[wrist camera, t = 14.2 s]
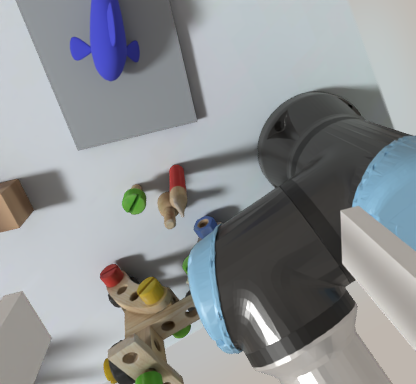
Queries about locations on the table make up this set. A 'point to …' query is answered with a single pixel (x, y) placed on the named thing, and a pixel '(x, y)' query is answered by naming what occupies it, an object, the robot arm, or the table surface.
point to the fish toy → (106, 40)
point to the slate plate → (125, 84)
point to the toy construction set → (151, 300)
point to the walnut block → (13, 205)
